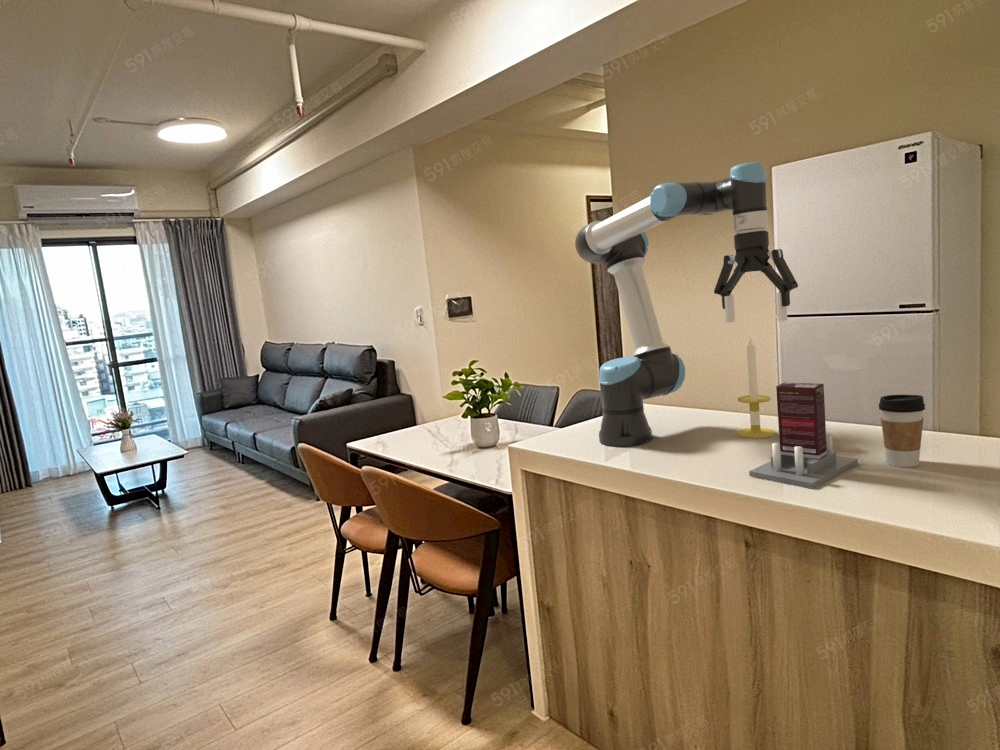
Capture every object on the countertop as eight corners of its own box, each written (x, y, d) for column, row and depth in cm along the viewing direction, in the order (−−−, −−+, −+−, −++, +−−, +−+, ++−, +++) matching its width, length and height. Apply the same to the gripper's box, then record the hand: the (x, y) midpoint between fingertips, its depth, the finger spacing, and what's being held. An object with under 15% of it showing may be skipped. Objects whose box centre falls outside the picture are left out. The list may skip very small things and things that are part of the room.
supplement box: (827, 454, 134) (825, 383, 132) (819, 460, 131) (816, 387, 129) (787, 449, 140) (784, 381, 138) (778, 454, 137) (775, 385, 135)
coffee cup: (911, 471, 128) (910, 402, 126) (871, 463, 135) (869, 397, 133) (934, 462, 132) (933, 394, 129) (894, 455, 139) (892, 390, 137)
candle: (739, 438, 165) (733, 340, 161) (734, 429, 175) (728, 336, 171) (779, 436, 163) (774, 336, 159) (771, 427, 173) (766, 333, 169)
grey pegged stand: (749, 476, 136) (747, 445, 135) (796, 454, 148) (795, 425, 147) (812, 488, 125) (810, 455, 124) (857, 463, 136) (857, 432, 135)
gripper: (696, 239, 152) (701, 324, 155) (794, 224, 132) (798, 322, 135) (714, 237, 156) (719, 320, 159) (811, 223, 136) (815, 318, 139)
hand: (755, 321), depth 147 cm, fingers open, 13 cm apart
